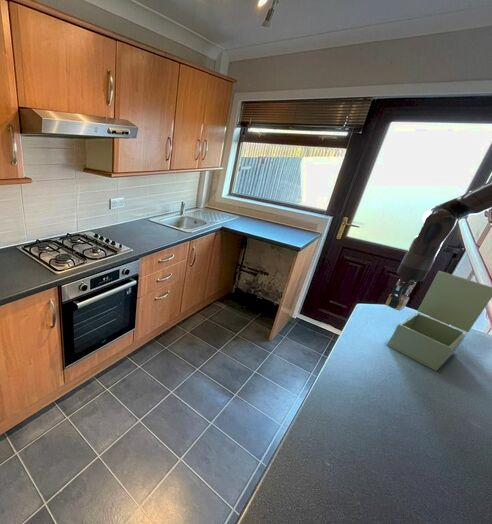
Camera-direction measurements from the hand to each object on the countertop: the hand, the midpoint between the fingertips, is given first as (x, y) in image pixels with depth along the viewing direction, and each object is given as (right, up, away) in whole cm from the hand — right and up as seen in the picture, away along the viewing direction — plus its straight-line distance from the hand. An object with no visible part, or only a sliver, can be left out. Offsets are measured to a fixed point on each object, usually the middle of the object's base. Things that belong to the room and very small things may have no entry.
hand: (394, 305), depth 105 cm
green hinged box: (-3, -13, -12) cm, 18 cm away
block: (0, 0, 0) cm, 0 cm away
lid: (+3, +4, -16) cm, 17 cm away
